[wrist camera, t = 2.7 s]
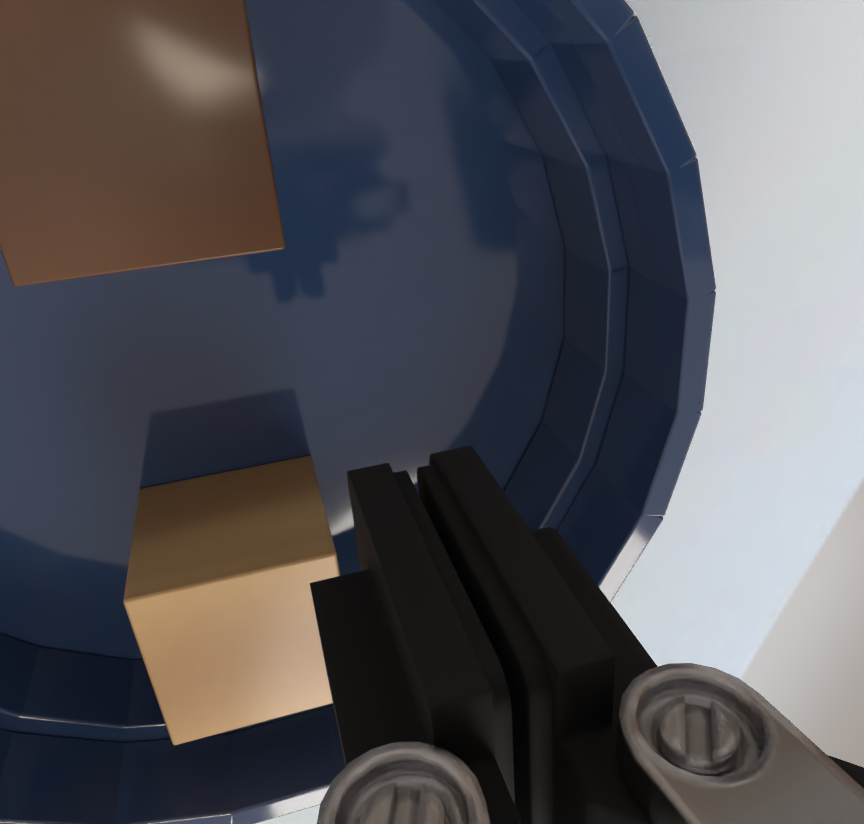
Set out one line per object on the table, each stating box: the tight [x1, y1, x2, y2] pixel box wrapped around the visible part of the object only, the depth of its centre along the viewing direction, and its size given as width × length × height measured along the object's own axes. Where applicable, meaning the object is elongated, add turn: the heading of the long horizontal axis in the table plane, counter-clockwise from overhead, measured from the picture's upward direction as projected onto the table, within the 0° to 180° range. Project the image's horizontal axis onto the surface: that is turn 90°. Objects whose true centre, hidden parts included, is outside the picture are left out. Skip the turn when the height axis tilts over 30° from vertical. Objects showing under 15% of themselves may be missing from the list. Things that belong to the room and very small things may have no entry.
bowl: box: [0, 0, 716, 824], centre depth 14 cm, size 19×19×5 cm
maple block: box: [123, 456, 340, 745], centre depth 17 cm, size 4×4×4 cm
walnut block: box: [0, 0, 286, 287], centre depth 12 cm, size 4×4×4 cm
